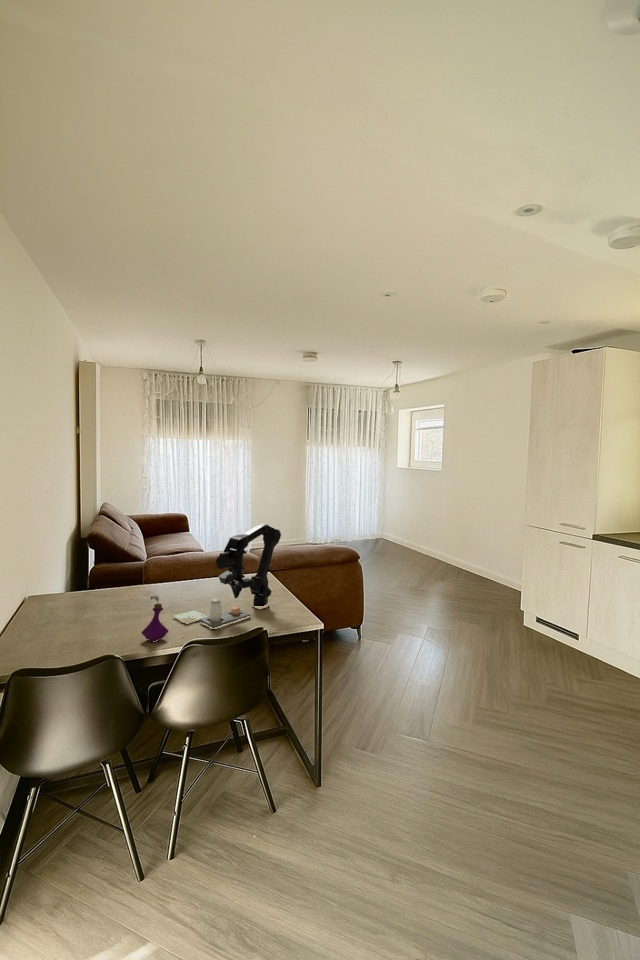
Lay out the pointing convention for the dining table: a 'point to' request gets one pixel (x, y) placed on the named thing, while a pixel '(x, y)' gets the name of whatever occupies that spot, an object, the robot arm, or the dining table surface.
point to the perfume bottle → (155, 624)
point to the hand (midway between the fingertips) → (236, 597)
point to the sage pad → (190, 615)
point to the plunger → (235, 611)
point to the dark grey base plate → (224, 618)
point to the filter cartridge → (215, 610)
